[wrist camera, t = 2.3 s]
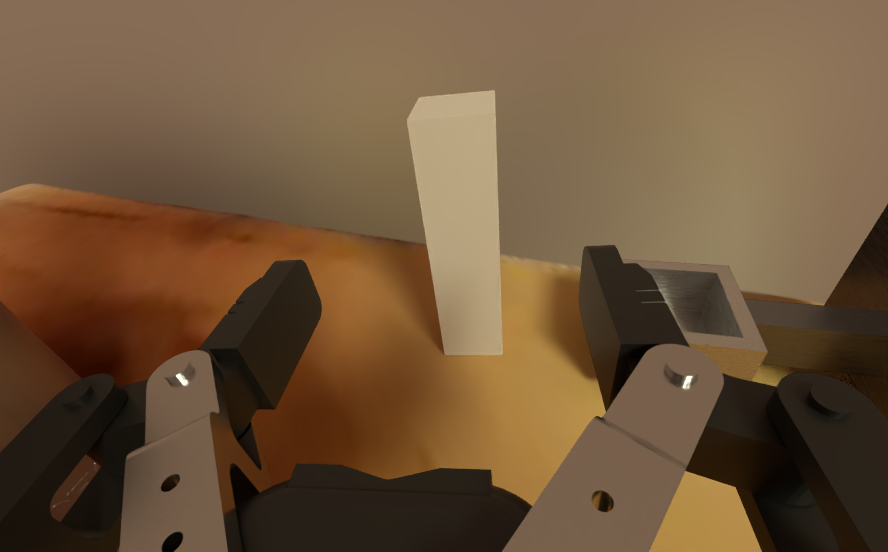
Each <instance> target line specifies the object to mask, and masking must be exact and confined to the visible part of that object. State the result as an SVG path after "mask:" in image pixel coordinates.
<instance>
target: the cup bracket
mask: <svg viewBox="0 0 888 552" xmlns="http://www.w3.org/2000/svg"><path fill="white" fill-rule="evenodd" d="M622 261H623V263H637V264H639V265H640V266H641V267H642V268H644V269H645V270H646V271H648V272H649V273H650V274H651V275H652V276H653V278H654V280H655V282H656V284H657V286H658V288H659V291H660V292H661V293H662V295H663V297H664V299H665V303H667V305H668V307H669V309H670V310H671V312H672V314H673V316H674V318H675V320H676V322H677V324H678V325H679V327H680V329H681V331H682V333H683V335H684V337H685V339H686V341H687V342H688V344H689V346H690V348H693V349H695V350H697V351H700V352H701V353H703V354H705V355H706V356H708V357H709V358H710V359H712V360H713V361H714V362H715V363H716V365H717V366H718V367H719V368H720V370H721V372H722V373H724V374H727V375H729V376H732V377H736V378H740V379H744V380H748V381H752V379H753V377H754V375H755V374H756V372H757V370H758V368H759V367H760V365H761V364H768V365H777V366H785V367H794V368H802V369H811V370H819V371H827V372H836V373H844V374H849V376H850V377H851V379H852V380H853V382H854V384H855V385H856V387H857V388H858V390H859V391H860V392H861V393H862V394H864V395H865V396H866V397H867V398H869V399H870V400H871V401H872V402H873V403H874V404H875V405H876V407H877V408H878V409H879V410H880V411H881V413H882V414H883V415H884V416H885V418H886V419H887V420H888V204H887V206H886V208H885V209H884V211H883V212H882V214H881V216H880V217H879V219H878V220H877V222H876V224H875V225H874V227H873V228H872V230H871V232H870V233H869V235H868V236H867V238H866V239H865V241H864V243H863V244H862V246H861V247H860V249H859V251H858V252H857V254H856V255H855V257H854V258H853V260H852V262H851V263H850V265H849V266H848V268H847V270H846V271H845V273H844V274H843V276H842V278H841V279H840V281H839V282H838V284H837V285H836V287H835V289H834V290H833V292H832V293H831V295H830V297H829V298H828V300H827V301H826V303H825V305H824V306H822V305H809V304H797V303H785V302H772V301H760V300H748V299H744V298H743V296H742V294H741V292H740V289H739V287H738V285H737V283H736V281H735V278H734V276H733V274H732V272H731V270H730V267H729V266H722V265H706V264H689V263H673V262H657V261H641V260H625V259H622Z"/></svg>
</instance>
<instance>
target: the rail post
mask: <svg viewBox="0 0 888 552" xmlns="http://www.w3.org/2000/svg"><path fill="white" fill-rule="evenodd" d="M407 125H408V131H409V137H410V143H411V149H412V155H413V161H414V167H415V174H416V181H417V186H418V193H419V199H420V205H421V211H422V218H423V223H424V230H425V236H426V242H427V249H428V255H429V261H430V267H431V273H432V279H433V286H434V292H435V298H436V304H437V310H438V317H439V323H440V329H441V335H442V341H443V347H444V354H445V355H503V349H502V313H501V280H500V250H499V249H500V248H499V215H498V181H497V151H496V150H497V149H496V148H497V147H496V114H495V90H492V91H482V92H471V93H460V94H450V95H440V96H429V97H420V98H419V99H418V101H417V103H416V105H415V106H414V108H413V110H412V112H411V114H410V115H409V117H408V119H407Z"/></svg>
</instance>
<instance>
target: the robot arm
mask: <svg viewBox="0 0 888 552" xmlns="http://www.w3.org/2000/svg"><path fill="white" fill-rule="evenodd" d="M579 308H580V314H581V318H582V321H583V325H584V329H585V333H586V337H587V341H588V345H589V348H590V352H591V356H592V360H593V364H594V368H595V371H596V375H597V379H598V383H599V387H600V391H601V395H602V398H603V402H604V406H605V410H606V413H605V415H604V416H603V417H602V418H600V417H599V416H596V417H595V418H593V420H592V421H591V422H590V423H589V424H588V426H587V427H586V429H585V430H584V431H583V433H582V434H581V436H580V437H579V439H578V440H577V442H576V443H575V445H574V446H573V448H572V449H571V451H570V452H569V454H568V455H567V457H566V458H565V459H564V461H563V462H562V464H561V465H560V467H559V468H558V470H557V471H556V473H555V474H554V476H553V477H552V479H551V480H550V482H549V483H548V484H547V486H546V487H545V489H544V490H543V492H542V493H541V495H540V496H539V498H538V499H537V501H536V502H535V504H534V505H533V506H531V505H530V504H529V503H528V502H526V501H525V500H523V499H522V498H520V497H518V496H517V495H515V494H513V493H511V492H509V491H507V490H505V489H502V488H499V487H496V486H493V485H492V475H491V470H481V469H450V468H439V469H435V470H430V471H426V472H422V473H417V474H413V475H408V476H404V477H400V478H395V479H390V480H387V479H382V478H379V477H376V476H373V475H370V474H367V473H364V472H361V471H358V470H355V469H352V468H349V467H346V466H343V465H326V464H296V466H295V469H294V471H293V474H292V476H291V479H290V480H288V481H285V482H282V483H279V484H276V485H274V486H273V484H272V482H271V479H270V476H269V472H268V468H267V464H266V460H265V456H264V452H263V448H262V444H261V440H260V437H259V433H258V429H257V425H256V422H255V421H254V419H253V418H252V417H253V415H254V413H255V412H256V410H257V409H275V408H276V406H277V404H278V402H279V400H280V398H281V396H282V394H283V392H284V390H285V388H286V386H287V384H288V382H289V380H290V378H291V376H292V374H293V372H294V370H295V368H296V366H297V364H298V362H299V360H300V358H301V356H302V354H303V352H304V350H305V348H306V346H307V344H308V342H309V340H310V338H311V336H312V334H313V332H314V330H315V328H316V326H317V324H318V322H319V320H320V317H321V311H322V306H321V300H320V297H319V295H318V292H317V290H316V287H315V285H314V282H313V280H312V277H311V275H310V272H309V270H308V267H307V265H306V263H305V262H304V261H303V260H285V261H275V262H274V263H273V264H272V265H271V267H270V268H269V269H268V271H267V272H266V273H265V275H264V276H263V277H262V278H260V279H258V280H257V281H256V282H254V283H253V284H252V285H250V286H249V287H248V288H246V289H245V290H244V292H243V293H242V294H241V296H240V297H239V298H238V299H237V301H236V304H233V306H232V307H231V308H230V310H229V311H228V315H225V316H224V317H223V319H222V320H221V321H220V322H219V324H218V325H217V326H216V328H215V329H214V330H213V331H212V333H211V334H210V335H209V337H208V338H207V339H206V340H205V342H204V343H203V344H202V346H201V347H200V348H199V349H198V350H193V351H188V352H184V353H182V354H179V355H177V356H175V357H173V358H171V359H169V360H167V361H166V362H165V363H163V364H162V365H161V366H160V367H158V368H157V369H156V370H155V371H154V373H153V374H152V375H151V376H150V378H149V380H145V381H142V382H138V383H134V384H130V385H126V386H121V385H120V384H119V383H118V382H117V381H116V380H115V379H114V378H113V377H112V376H111V375H109V374H95V375H91V376H88V377H85V378H83V379H82V378H81V377H80V376H79V375H77V374H76V373H75V372H74V371H73V370H72V369H71V368H70V367H69V366H68V365H67V364H66V363H65V362H64V361H63V360H62V359H61V358H60V357H59V356H58V355H57V354H55V353H54V352H53V351H52V350H51V349H50V348H49V347H48V346H47V345H46V344H45V343H44V342H43V341H42V340H41V339H40V338H39V337H38V336H37V335H36V334H35V333H33V332H32V331H31V330H30V329H29V328H28V327H27V326H26V325H25V324H24V323H23V322H22V321H21V320H20V319H19V318H18V317H17V316H16V315H15V314H14V313H13V312H11V311H10V310H9V309H8V308H7V307H6V306H5V305H4V304H3V303H2V302H1V301H0V552H116V551H117V550H118V548H119V546H120V549H119V552H649V550H650V548H651V546H652V543H653V541H654V539H655V537H656V535H657V532H658V530H659V528H660V526H661V523H662V521H663V519H664V517H665V515H666V512H667V510H668V508H669V506H670V504H671V501H672V499H673V497H674V495H675V493H676V490H677V488H678V486H679V484H680V481H681V479H682V477H683V475H684V473H685V471H687V472H690V473H694V474H697V475H700V476H703V477H706V478H709V479H712V480H715V481H718V482H722V483H725V484H728V485H731V486H734V487H736V489H737V492H738V494H739V496H740V499H741V501H742V504H743V506H744V509H745V511H746V514H747V516H748V518H749V521H750V523H751V526H752V528H753V531H754V533H755V536H756V538H757V540H758V543H759V545H760V548H761V550H762V552H888V420H887V419H886V418H885V416H884V415H883V414H882V413H881V411H880V410H879V409H878V408H877V407H876V405H875V404H874V403H873V402H872V401H871V400H870V399H869V398H867V397H866V396H865V395H864V394H862V393H861V392H860V391H858V390H857V389H855V388H853V387H852V386H850V385H848V384H846V383H844V382H842V381H840V380H837V379H834V378H832V377H829V376H825V375H822V374H816V373H809V372H798V373H792V374H789V375H787V376H785V377H784V378H782V379H781V381H780V382H779V384H778V385H777V387H775V386H770V385H766V384H762V383H757V382H753V381H748V380H744V379H740V378H736V377H732V376H729V375H727V374H724V373H722V372H721V370H720V368H719V367H718V366H717V365H716V363H715V362H714V361H713V360H712V359H710V358H709V357H708V356H706V355H705V354H703V353H701V352H700V351H697V350H695V349H693V348H690V346H689V344H688V342H687V341H686V339H685V337H684V335H683V333H682V331H681V329H680V327H679V325H678V324H677V322H676V320H675V318H674V316H673V314H672V312H671V310H670V309H669V307H668V305H667V303H665V299H664V297H663V295H662V293H661V292H660V291H659V288H658V286H657V284H656V282H655V280H654V278H653V276H652V275H651V274H650V273H649V272H648V271H646V270H645V269H644V268H642V267H641V266H640V265H639V264H637V263H623V261H622V259H621V257H620V255H619V252H618V250H617V248H616V247H615V245H605V246H585V247H584V250H583V256H582V266H581V276H580V286H579Z"/></svg>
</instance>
